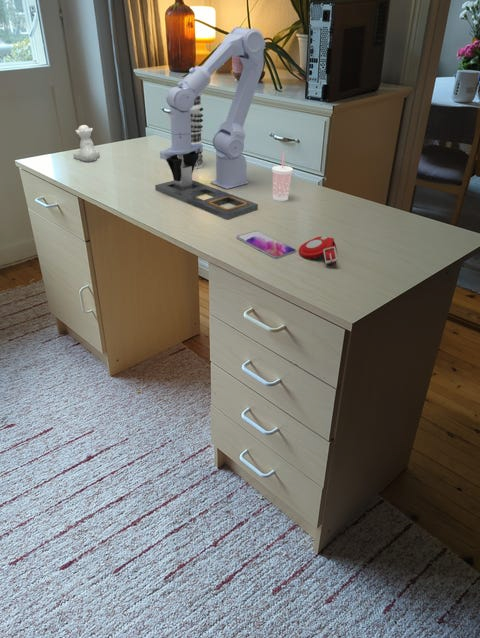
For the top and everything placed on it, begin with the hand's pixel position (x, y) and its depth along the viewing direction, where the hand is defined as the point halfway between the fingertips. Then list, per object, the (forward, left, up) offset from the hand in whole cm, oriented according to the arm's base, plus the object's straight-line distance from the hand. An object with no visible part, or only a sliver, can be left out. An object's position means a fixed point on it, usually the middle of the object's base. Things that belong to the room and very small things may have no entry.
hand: (182, 179), depth 157 cm
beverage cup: (-18, +24, -4) cm, 30 cm away
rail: (0, +10, -4) cm, 11 cm away
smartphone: (+10, +44, -4) cm, 45 cm away
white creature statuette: (+4, -48, -4) cm, 48 cm away
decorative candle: (-19, -19, -4) cm, 27 cm away
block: (0, 0, -3) cm, 3 cm away
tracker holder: (+5, +57, -4) cm, 57 cm away
